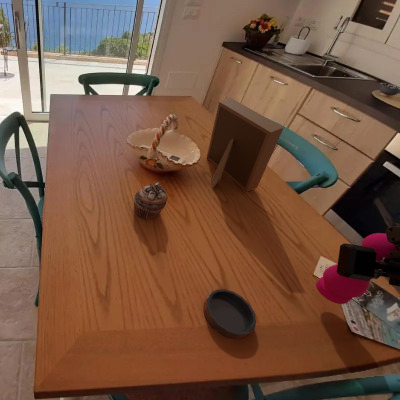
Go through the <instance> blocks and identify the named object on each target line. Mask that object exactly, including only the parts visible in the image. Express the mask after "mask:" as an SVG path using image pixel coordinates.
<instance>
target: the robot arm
mask: <svg viewBox="0 0 400 400" xmlns="http://www.w3.org/2000/svg"><path fill="white" fill-rule="evenodd" d="M384 232H385V234H386V236H387V240H388V242H389V243H393V244H395V247H396V249H397V250H398V251H390V255H389V257H390V258H392V259H390V258H384V257H382V259H381V262H382V263H386V264H387V265H385V264H379V262H380V261H377V260H376V255H377V253H376V252H375V249H373V248H370V247H365V246H362V245H358V244H352V243H345V242H344V243H342V244H340V245H339V251H338V259H337V264H338V265H337V273H338V275H339V276H343V277H347V278H352V279H357V280H362V281H370V282H371V280H378V279H380V278H381V277H382V278H387V279H388V285H390V286H394V287H399V288H400V223H396V222H395V223H392V224H391V226H389V227H387V228H386V229H385V231H384ZM379 269H381V270H379Z"/></svg>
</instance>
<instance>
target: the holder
mask: <svg viewBox="0 0 400 400" xmlns="http://www.w3.org/2000/svg"><path fill="white" fill-rule="evenodd" d="M202 309H203V314H204V317H205V319H206V321H207V323H208V324H209V326H211V328H212V329H213V330H214V331H215V332H217V333H218V334H220V335H221V336H223V337H226V338H228V339H232V340H241V339H243V338H245V337H247V336H248V335H250V334H251V333H252V332H253V331H255V330H256V326H257V317H256V313H255V311H254V309H253V307H252V305H251V304H250V303H249V302H248V301H247V300H246V299H245V298H244V296H242V295H240V294H239V293H237V292H236V291H232V290H229V289H226V288H220V289H219V288H218V289H215V290H213V291H211V292H209V294H208V295H207V297H206V298H205V300H204V302H203V305H202Z"/></svg>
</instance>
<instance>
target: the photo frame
mask: <svg viewBox="0 0 400 400" xmlns="http://www.w3.org/2000/svg"><path fill="white" fill-rule="evenodd" d="M284 129H285V127H284V126H282V125H280V124H278V123H277V122H275V121H273V120H271V119H270V118H268V117H266V116H264V115H262V114H261V113H258V112H257V111H255V110H254V109H252V108H250V107H248V106H246V105H245V104H243V103H241V102H239V101H237V100H235V99H233V98H232V97H228V98H225V99H223V100H220V101H218V104H217V109H216V114H215V119H214V122H213V127H212V131H211V136H210V139H209V145H208V150H207V154H206V159H207V160H208V161H209V162H210V163H212V164H213V166H215V167H216V169H215V171H214V173H213V175H212V177H211V179H210V183H211V187H212V189H214V188H215V187H216V185H218V183H219V182H220V180H221V179H222V176H223V173H224V175H226V176H227V177H228V178H229V179H230V180H231V181H233V182H234V183H235V184H236V185H237V186H238V187H240V188H241V189H242V190H244V191H245V192H246V193H248V192H250V191H253V190H255V189H258V186H259V184H260V182H261V180H262V178H263V176H264V173H265V171H266V169H267V167H268V164H269V162H270V160H271V157H272V156H273V153H274V151H275V149H276V146H277V144H278V141H279V139H280V137H281V135H282V133H283V131H284Z"/></svg>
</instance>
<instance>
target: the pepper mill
mask: <svg viewBox="0 0 400 400" xmlns="http://www.w3.org/2000/svg"><path fill="white" fill-rule="evenodd" d="M361 246H365V247H370V248H373V249H375V252H376V253H377V255H376V260H377V261H380V262H379V264H385V265H387V264H386V263H382V262H381V259H382V257H384V258H390V257H389V255H390V251H398V250H397V249H396V247H395V244H393V243H389V242H388V240H387V236H386V233H382V232H376V233H372V234H369V235H367V236H366V237H364V238H363V240H362V241H361ZM390 259H392V258H390ZM337 265H338V263H336V264H333V265H330V266H328V268H326V269H324V271H323V273H322V276H321V277H320V278H318V279H317V281H316V282H315V288H316V290H317V291H318V293H319V294H320V295H321V296H322V297H323V298H324V299H326V300H327V301H329V302H331V303H333V304H338V305H346V304H347V303H349V302H350V301H352V300H353V299H356V298H360V297H362V296H363V295H364V294H365V293H366V292H367V290H368V289H369V288H370V284H371V281H362V280H357V279H352V278H347V277H343V276H339V275H338V273H337ZM379 270H381V269H379Z"/></svg>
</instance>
